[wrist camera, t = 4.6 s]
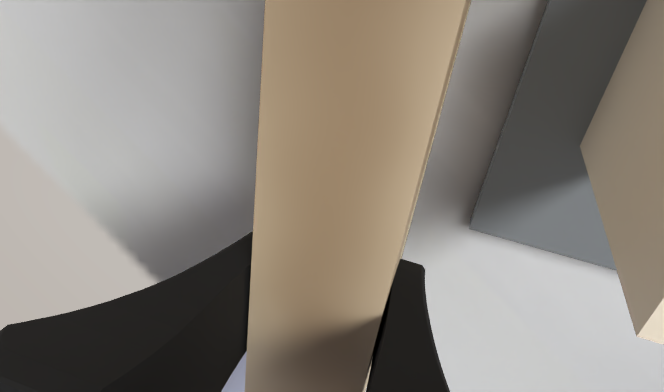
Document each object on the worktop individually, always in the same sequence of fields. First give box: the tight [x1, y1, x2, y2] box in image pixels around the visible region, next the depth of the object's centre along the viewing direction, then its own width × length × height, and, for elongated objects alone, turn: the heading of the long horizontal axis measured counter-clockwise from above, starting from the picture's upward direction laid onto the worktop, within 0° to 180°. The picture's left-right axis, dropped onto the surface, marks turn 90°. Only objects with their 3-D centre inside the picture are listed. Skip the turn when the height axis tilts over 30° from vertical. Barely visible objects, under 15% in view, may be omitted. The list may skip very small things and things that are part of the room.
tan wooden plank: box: [245, 0, 471, 392], centre depth 12 cm, size 3×16×4 cm, turn 172°
